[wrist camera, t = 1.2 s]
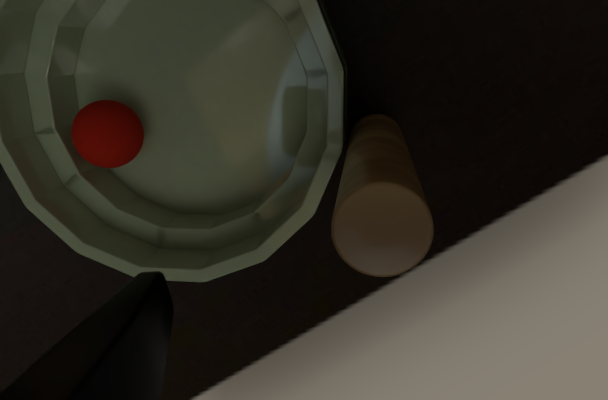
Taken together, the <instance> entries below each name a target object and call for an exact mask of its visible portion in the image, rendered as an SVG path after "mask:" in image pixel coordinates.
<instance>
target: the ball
mask: <svg viewBox="0 0 608 400" xmlns="http://www.w3.org/2000/svg"><path fill="white" fill-rule="evenodd" d="M71 137H72V141H73V144H74V146H75V149H76V150H77V152H78V153H79V154H80V156H81V157H82V158H84V159H85V160H86V161H88V162H89V163H91V164H93V165H95V166H98V167H103V168H116V167H120V166H123V165H125V164H127V163H129V162H130V161H132V160H133V159H134V158H135V157H136V156H137V155H138V153H139V152H140V150H141V147H142V145H143V141H144V131H143V126H142V123H141V121H140V119H139V118H138V116H137V115H136V113H135V112H134V111H133V110H132V109H130V108H129V107H128V106H126V105H124V104H122V103H120V102H117V101H113V100H99V101H95V102H92V103H90V104H88V105H86V106H85V107H83V108H82V109H81V110H80V111H79V112H78V114H77V115H76V116H75V118H74V121H73V124H72V128H71Z"/></svg>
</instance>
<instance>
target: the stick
mask: <svg viewBox="0 0 608 400" xmlns="http://www.w3.org/2000/svg"><path fill="white" fill-rule="evenodd" d="M433 234H434V225H433V219H432V215H431V212H430V210H429V207H428V204H427V201H426V198H425V196H424V193H423V190H422V187H421V184H420V182H419V179H418V176H417V173H416V170H415V168H414V165H413V162H412V159H411V156H410V154H409V151H408V148H407V145H406V143H405V140H404V137H403V134H402V131H401V129H400V127H399V125H398V124H397V123H396V121H394V120H393V119H392V118H391V117H389V116H386V115H383V114H370V115H367V116H365V117H363V118H361V119H360V120H359V121H358V122H357V123H356V124H355V125H354V127H353V129H352V131H351V135H350V139H349V144H348V149H347V153H346V158H345V162H344V167H343V172H342V176H341V181H340V185H339V190H338V195H337V199H336V204H335V208H334V213H333V218H332V222H331V236H332V241H333V244H334V246H335V248H336V250H337V252H338V254H339V255H340V257H341V258H342V259H343V260H344V261H345V262H346V263H347V264H348V265H349V266H351V267H352V268H354V269H355V270H357V271H359V272H361V273H364V274H366V275H370V276H376V277H389V276H395V275H399V274H401V273H404V272H406V271H408V270H410V269H411V268H413V267H414V266H416V265H417V264H418V263H419V262H420V261H421V260H422V259H423V258H424V256H425V255H426V253H427V252H428V250H429V248H430V246H431V243H432V240H433Z"/></svg>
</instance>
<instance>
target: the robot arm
mask: <svg viewBox="0 0 608 400" xmlns="http://www.w3.org/2000/svg"><path fill="white" fill-rule="evenodd" d="M172 321H173V303H172V299H171V296H170V292H169V289H168V285H167V282H166V278H165V276H164V274H163V273H162V272H160V271H150V272H141V273H139V274H137V275H136V276H135V277H134V278H133V279H132V280H130V281H129V282H128V283H127V284H126V285H124V286H123V287H122V288H121V289H120V290H119V291H117V292H116V293H115V294H114V295H113V296H112V297H110V298H109V299H108V300H107V301H106V302H105V303H103V304H102V305H101V306H100V307H99V308H97V309H96V310H95V311H94V312H93V313H92V314H90V315H89V316H88V317H87V318H86V319H85V320H83V321H82V322H81V323H80V324H79V325H78V326H76V327H75V328H74V329H73V330H72V331H71V332H69V333H68V334H67V335H66V336H65V337H63V338H62V339H61V340H60V341H59V342H58V343H56V344H55V345H54V346H53V347H52V348H51V349H49V350H48V351H47V352H46V353H45V354H44V355H42V356H41V357H40V358H39V359H38V360H36V361H35V362H34V363H33V364H32V365H31V366H29V367H28V368H27V369H26V370H25V371H24V372H22V373H21V374H20V375H19V376H18V377H17V378H15V379H14V380H13V381H12V382H11V383H10V384H8V385H7V386H6V387H5V388H4V389H2V390H1V391H0V400H160V397H161V392H162V388H163V382H164V376H165V369H166V362H167V355H168V348H169V341H170V334H171V327H172Z"/></svg>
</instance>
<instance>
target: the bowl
mask: <svg viewBox="0 0 608 400" xmlns="http://www.w3.org/2000/svg"><path fill="white" fill-rule="evenodd" d="M347 65H348V63H347V60H346V58H345V55H344V52H343V50H342V47H341V45H340V42H339V40H338V37H337V34H336V32H335V29H334V27H333V24H332V22H331V19H330V16H329V14H328V11H327V9H326V6H325V4H324V2H323V0H0V164H1V165H2V167H3V169H4V170H5V172H6V174H7V176H8V177H9V179H10V181H11V183H12V184H13V186H14V188H15V189H16V191H17V193H18V195H19V196H20V198H21V200H22V201H23V203H24V205H25V206H26V208H27V209H28V210H29V211H31V212H32V213H33V214H34V215H35V216H36V217H37V218H38V219H40V220H41V221H42V222H43V223H44V224H45V225H46V226H47V227H49V228H50V229H51V230H52V231H53V232H54V233H55V234H56V235H58V236H59V237H60V238H61V239H62V240H63V241H64V242H65V243H67V244H68V245H69V246H70V247H71V248H72V249H73V250H74V251H76V252H77V253H79V254H81V255H83V256H86V257H88V258H90V259H93V260H95V261H97V262H100V263H102V264H105V265H107V266H109V267H112V268H114V269H116V270H119V271H121V272H123V273H126V274H128V275H131V276H133V277H135V276H136V275H137V274H139V273H141V272H150V271H160V272H162V273H163V274H164V276H165V278H166V280H167V281H188V282H207V281H209V280H212V279H215V278H218V277H221V276H224V275H227V274H229V273H232V272H235V271H238V270H241V269H244V268H246V267H249V266H252V265H255V264H258V263H261V262H264V261H265V260H266V259H268V258H269V257H270V256H271V255H272V254H273V253H274V252H275V251H276V250H277V249H278V248H279V247H281V246H282V245H283V244H284V243H285V242H286V241H287V240H288V239H289V238H290V237H291V236H292V235H293V234H295V233H296V232H297V231H298V230H299V229H300V228H301V227H302V226H303V225H304V224H305V223H306V222H307V221H309V220H310V219H311V218H312V217H313V215H314V214H315V212H316V210H317V207H318V205H319V203H320V201H321V198H322V196H323V194H324V191H325V189H326V187H327V184H328V182H329V180H330V178H331V175H332V173H333V171H334V168H335V166H336V164H337V161H338V159H339V157H340V155H341V152H342V149H343V146H344V142H345V138H346V134H347V130H348V66H347ZM99 100H113V101H117V102H120V103H122V104H124V105H126V106H128V107H129V108H130V109H132V110H133V111H134V112H135V113H136V115H137V116H138V118H139V119H140V121H141V123H142V126H143V131H144V141H143V145H142V147H141V150H140V152H139V153H138V155H137V156H136V157H135V158H134V159H133V160H132V161H130V162H129V163H127V164H125V165H123V166H120V167H116V168H103V167H98V166H95V165H93V164H91V163H89V162H88V161H86V160H85V159H84V158H82V157H81V156H80V154H79V153H78V152H77V150H76V149H75V146H74V144H73V141H72V137H71V128H72V124H73V121H74V118H75V116H76V115H77V114H78V112H79V111H80V110H81V109H82V108H83V107H85V106H86V105H88V104H90V103H92V102H95V101H99Z"/></svg>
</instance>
